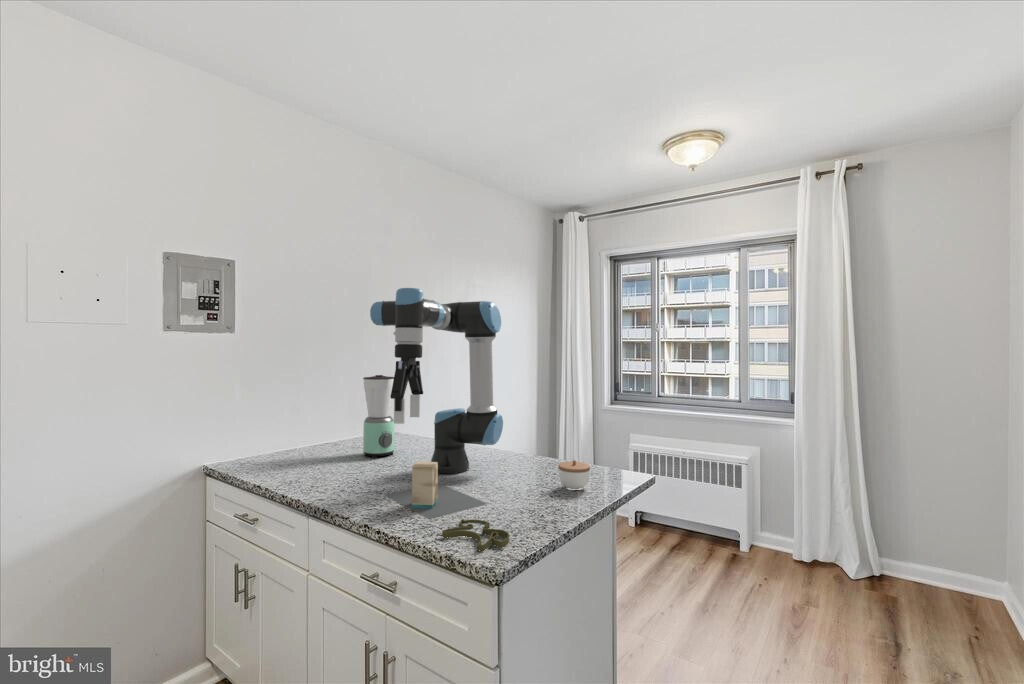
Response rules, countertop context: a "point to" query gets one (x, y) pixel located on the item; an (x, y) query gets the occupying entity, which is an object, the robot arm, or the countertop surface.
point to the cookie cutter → (492, 532)
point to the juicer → (378, 417)
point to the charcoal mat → (439, 502)
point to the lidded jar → (574, 474)
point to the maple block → (424, 485)
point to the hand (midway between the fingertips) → (407, 420)
